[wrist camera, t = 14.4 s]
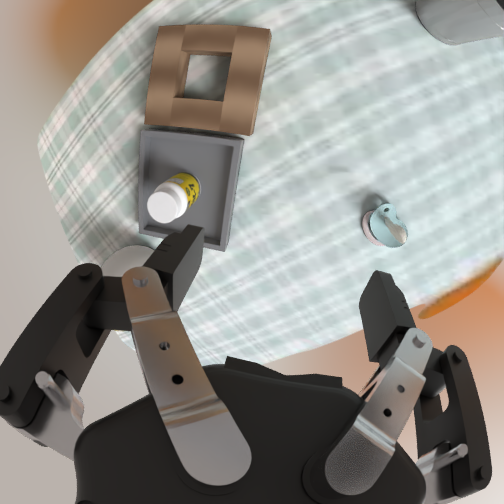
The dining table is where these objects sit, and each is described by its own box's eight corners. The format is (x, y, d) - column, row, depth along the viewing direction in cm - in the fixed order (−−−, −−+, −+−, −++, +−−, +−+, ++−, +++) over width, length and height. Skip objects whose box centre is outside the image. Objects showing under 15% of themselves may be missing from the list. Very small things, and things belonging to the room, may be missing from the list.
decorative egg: (113, 270, 48) (71, 321, 35) (129, 222, 42) (76, 271, 29) (165, 303, 50) (133, 362, 37) (189, 260, 44) (153, 323, 31)
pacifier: (376, 251, 39) (407, 230, 37) (386, 274, 34) (421, 251, 31) (352, 216, 37) (385, 193, 34) (361, 236, 32) (399, 210, 29)
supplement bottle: (200, 205, 38) (179, 230, 31) (170, 200, 38) (144, 223, 31) (203, 173, 36) (180, 191, 29) (171, 169, 36) (143, 186, 29)
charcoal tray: (149, 128, 34) (140, 130, 32) (244, 139, 34) (241, 141, 31) (146, 226, 42) (139, 233, 40) (228, 243, 42) (224, 251, 40)
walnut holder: (170, 31, 26) (159, 26, 23) (271, 36, 26) (269, 29, 23) (155, 122, 33) (144, 124, 30) (253, 133, 33) (249, 135, 30)
